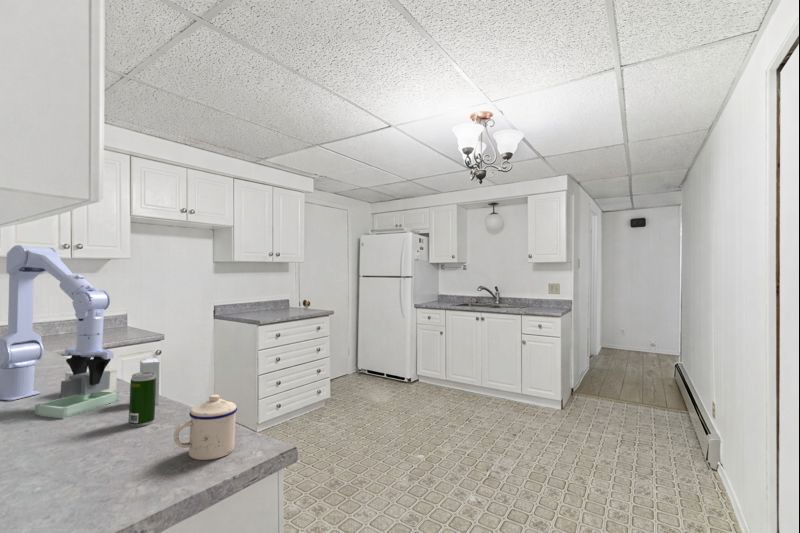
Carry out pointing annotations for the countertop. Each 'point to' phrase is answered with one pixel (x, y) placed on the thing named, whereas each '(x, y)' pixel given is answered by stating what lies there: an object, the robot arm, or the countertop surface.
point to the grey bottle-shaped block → (84, 385)
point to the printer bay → (112, 371)
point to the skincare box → (151, 366)
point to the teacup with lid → (210, 429)
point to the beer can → (142, 399)
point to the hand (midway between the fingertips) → (87, 383)
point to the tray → (75, 404)
